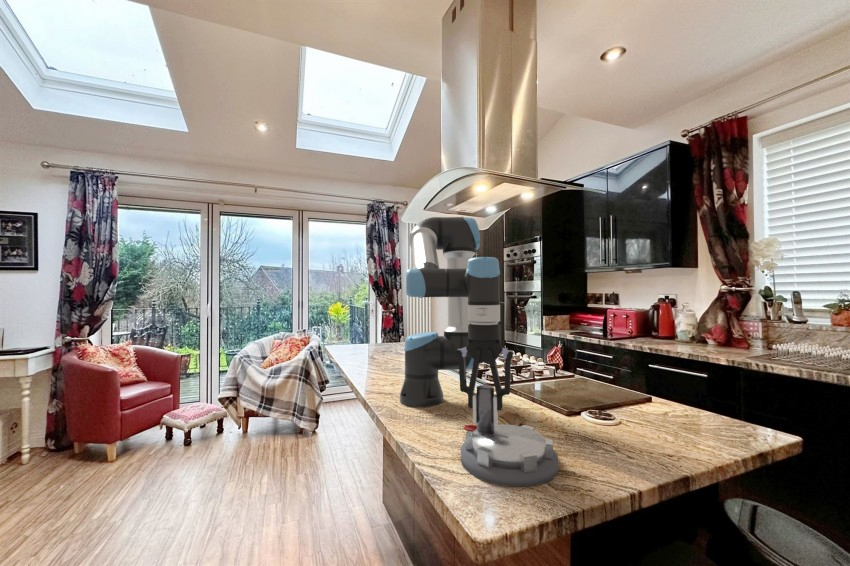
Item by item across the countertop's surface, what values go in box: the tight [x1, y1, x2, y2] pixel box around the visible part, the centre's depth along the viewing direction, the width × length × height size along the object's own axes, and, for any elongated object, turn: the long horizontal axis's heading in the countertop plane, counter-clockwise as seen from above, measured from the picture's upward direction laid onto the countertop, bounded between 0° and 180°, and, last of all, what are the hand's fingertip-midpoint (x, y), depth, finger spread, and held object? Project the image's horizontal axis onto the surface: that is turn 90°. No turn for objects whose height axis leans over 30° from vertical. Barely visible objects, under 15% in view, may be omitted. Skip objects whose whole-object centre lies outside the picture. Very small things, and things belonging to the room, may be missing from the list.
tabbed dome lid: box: [464, 384, 554, 473], centre depth 80 cm, size 18×19×13 cm
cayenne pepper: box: [462, 424, 477, 432], centre depth 97 cm, size 12×5×2 cm, turn 25°
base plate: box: [460, 442, 559, 488], centre depth 79 cm, size 21×21×2 cm
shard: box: [498, 411, 527, 426], centre depth 103 cm, size 11×8×2 cm
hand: (485, 422), depth 84 cm, fingers closed on tabbed dome lid, 4 cm apart
